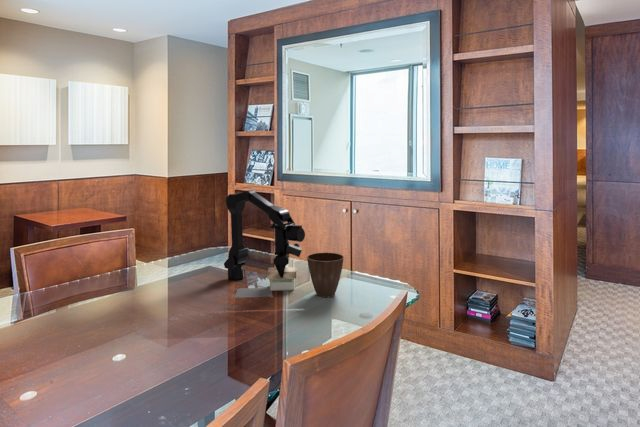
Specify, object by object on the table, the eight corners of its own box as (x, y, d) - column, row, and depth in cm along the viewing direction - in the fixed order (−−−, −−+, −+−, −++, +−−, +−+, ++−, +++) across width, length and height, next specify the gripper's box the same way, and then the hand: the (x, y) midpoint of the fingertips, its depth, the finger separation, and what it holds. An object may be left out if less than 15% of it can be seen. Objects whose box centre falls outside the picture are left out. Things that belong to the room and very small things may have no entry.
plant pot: (309, 288, 204) (309, 252, 201) (344, 289, 202) (344, 252, 200) (305, 300, 189) (304, 260, 187) (342, 300, 188) (342, 261, 185)
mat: (234, 299, 191) (234, 297, 191) (238, 289, 203) (237, 288, 203) (269, 298, 192) (269, 296, 192) (270, 289, 204) (270, 287, 204)
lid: (267, 279, 199) (267, 270, 199) (268, 274, 206) (268, 265, 206) (296, 278, 200) (296, 269, 199) (296, 273, 207) (296, 265, 206)
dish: (270, 291, 200) (270, 282, 199) (271, 286, 208) (271, 277, 207) (294, 291, 200) (294, 282, 200) (294, 285, 208) (294, 276, 207)
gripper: (300, 243, 192) (301, 281, 194) (300, 234, 210) (300, 268, 213) (272, 244, 191) (273, 281, 194) (275, 235, 210) (275, 269, 212)
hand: (282, 275), depth 203 cm, fingers closed on lid, 7 cm apart
